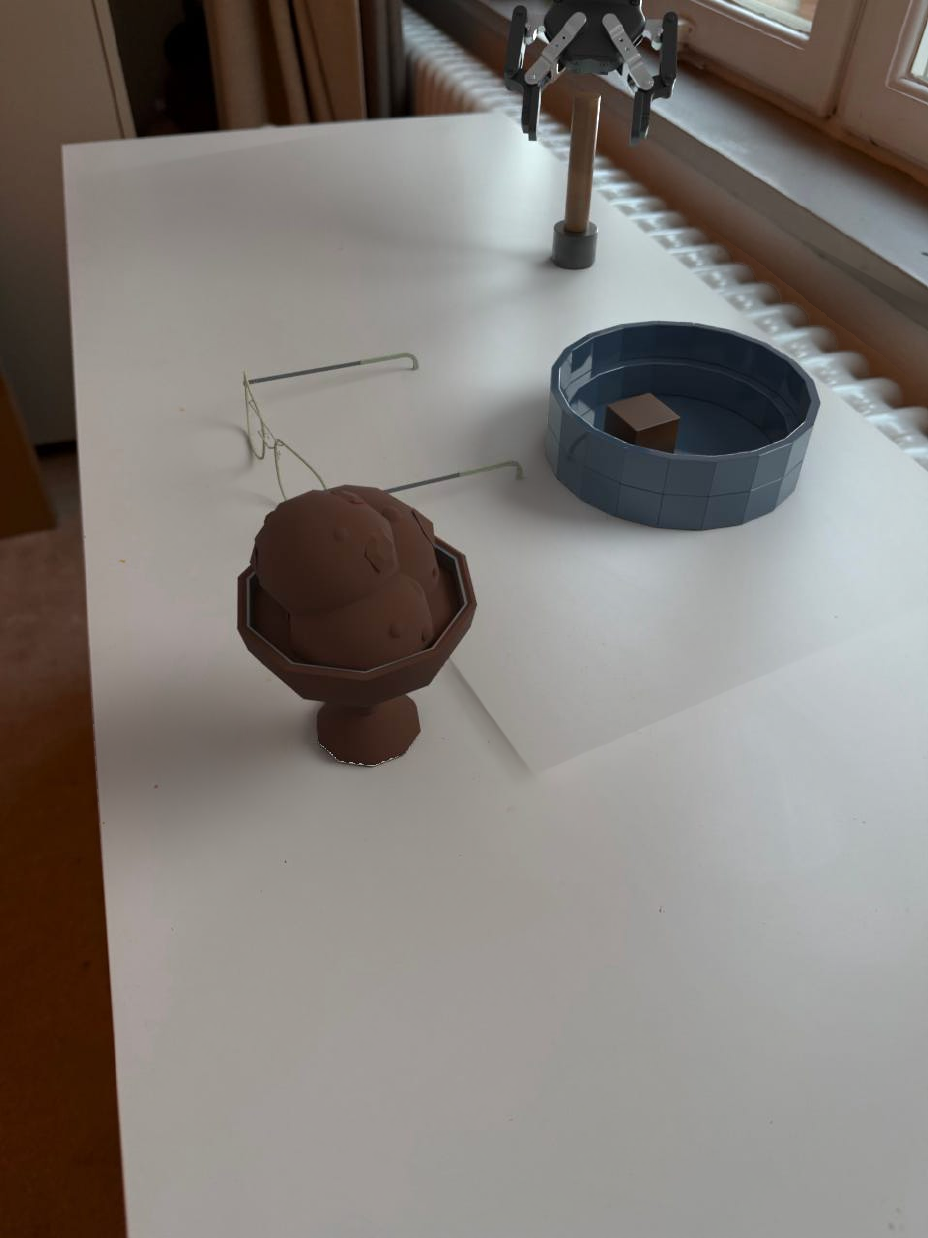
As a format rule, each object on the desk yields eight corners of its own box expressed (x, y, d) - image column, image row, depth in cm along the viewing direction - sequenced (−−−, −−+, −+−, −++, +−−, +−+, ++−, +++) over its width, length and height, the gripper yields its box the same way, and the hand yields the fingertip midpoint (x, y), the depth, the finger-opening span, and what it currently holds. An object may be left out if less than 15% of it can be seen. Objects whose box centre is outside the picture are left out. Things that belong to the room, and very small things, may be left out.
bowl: (733, 382, 76) (749, 309, 72) (843, 519, 64) (869, 441, 60) (517, 408, 74) (520, 334, 69) (589, 556, 62) (598, 477, 57)
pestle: (587, 248, 94) (602, 85, 84) (600, 266, 91) (618, 101, 81) (546, 252, 93) (556, 89, 83) (558, 270, 90) (571, 104, 80)
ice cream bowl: (457, 824, 47) (458, 591, 37) (231, 792, 49) (171, 559, 38) (488, 664, 55) (496, 433, 45) (292, 640, 56) (256, 410, 46)
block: (642, 435, 70) (649, 391, 67) (672, 461, 68) (680, 417, 65) (600, 448, 69) (606, 404, 66) (630, 475, 66) (636, 430, 64)
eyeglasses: (231, 425, 72) (220, 363, 68) (418, 376, 77) (416, 315, 73) (314, 553, 62) (306, 487, 58) (523, 486, 67) (526, 422, 63)
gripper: (515, -87, 81) (496, 111, 81) (693, -81, 79) (674, 120, 79) (518, -25, 88) (501, 156, 88) (681, -19, 87) (663, 165, 87)
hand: (583, 139), depth 84 cm, fingers open, 8 cm apart
